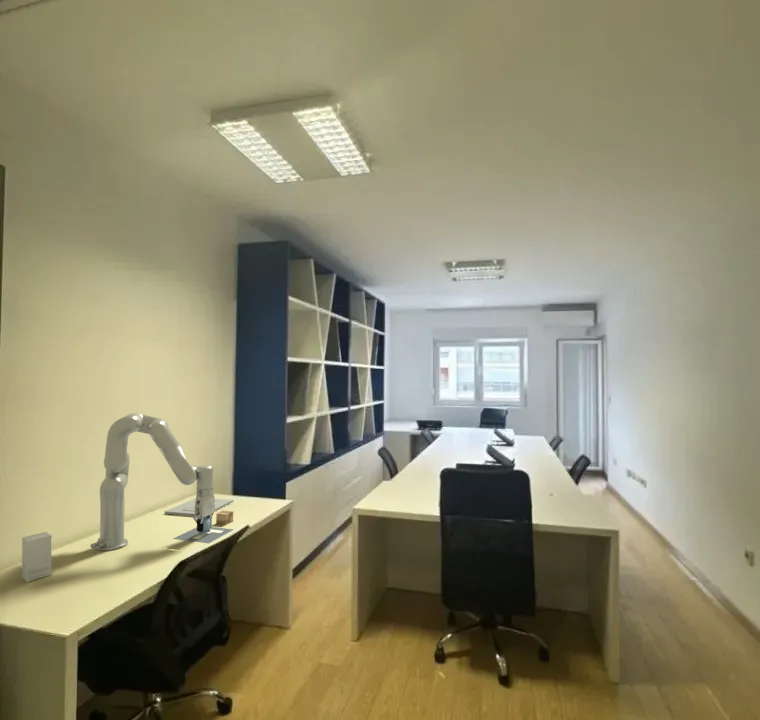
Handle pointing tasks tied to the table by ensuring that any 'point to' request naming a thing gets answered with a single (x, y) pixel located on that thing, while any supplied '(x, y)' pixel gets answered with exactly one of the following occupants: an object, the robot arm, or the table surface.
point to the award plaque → (189, 507)
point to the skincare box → (36, 556)
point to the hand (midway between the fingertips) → (204, 528)
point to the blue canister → (206, 524)
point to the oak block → (224, 517)
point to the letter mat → (203, 535)
